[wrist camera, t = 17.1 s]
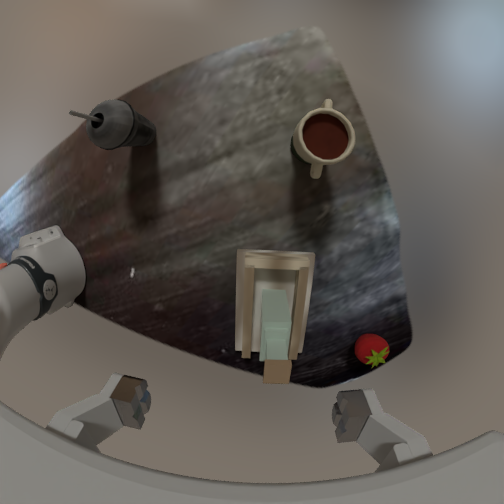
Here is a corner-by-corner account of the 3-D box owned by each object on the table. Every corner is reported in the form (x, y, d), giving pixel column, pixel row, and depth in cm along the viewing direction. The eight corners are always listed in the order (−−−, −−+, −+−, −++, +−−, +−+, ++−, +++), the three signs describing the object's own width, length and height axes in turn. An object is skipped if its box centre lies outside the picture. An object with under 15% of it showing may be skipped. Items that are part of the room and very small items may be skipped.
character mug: (324, 181, 43) (348, 185, 31) (282, 173, 43) (290, 173, 31) (334, 120, 40) (361, 102, 28) (293, 110, 40) (305, 87, 28)
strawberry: (356, 318, 50) (373, 347, 40) (384, 328, 51) (403, 355, 41) (342, 341, 52) (355, 372, 42) (370, 350, 52) (385, 379, 43)
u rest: (235, 346, 52) (233, 361, 48) (237, 248, 47) (235, 257, 42) (300, 348, 52) (303, 363, 47) (313, 252, 47) (319, 261, 42)
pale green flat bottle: (262, 288, 47) (262, 351, 30) (285, 289, 47) (297, 352, 30) (260, 323, 49) (258, 393, 32) (281, 324, 49) (289, 393, 32)
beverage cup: (150, 160, 43) (82, 157, 24) (120, 143, 42) (46, 134, 23) (171, 123, 41) (113, 96, 22) (139, 107, 40) (73, 78, 21)
